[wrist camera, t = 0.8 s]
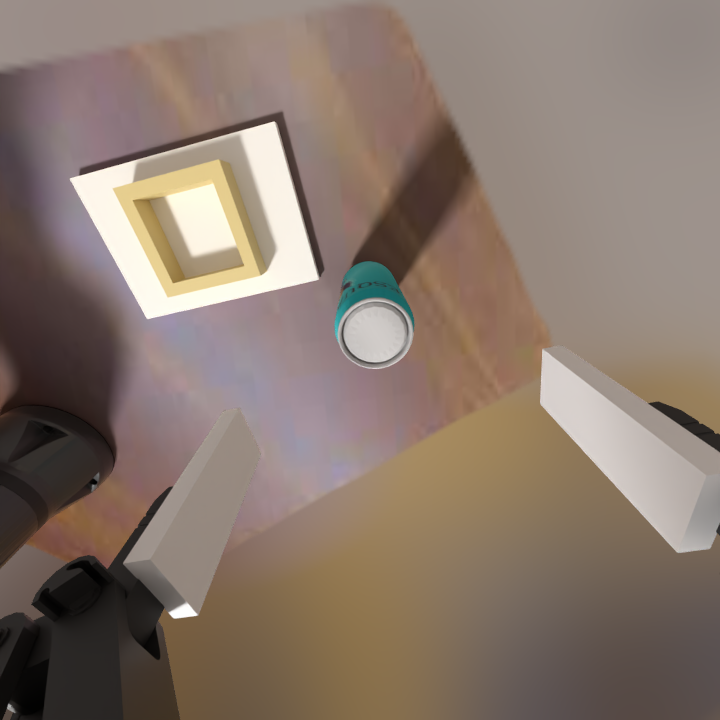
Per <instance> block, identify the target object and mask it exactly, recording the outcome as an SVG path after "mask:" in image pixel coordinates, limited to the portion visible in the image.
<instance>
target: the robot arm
mask: <svg viewBox="0 0 720 720" xmlns="http://www.w3.org/2000/svg"><path fill="white" fill-rule="evenodd" d="M540 404H541V405H542V406H543V407H544V408H545V410H546V411H547V412H548V413H549V414H550V415H551V416H552V417H553V418H554V419H555V421H556V422H557V423H558V424H559V425H560V426H561V427H562V428H563V429H564V430H565V431H566V432H567V433H568V435H569V436H571V438H572V439H573V440H574V441H575V442H576V443H577V444H578V445H579V447H580V448H581V449H582V450H583V451H584V452H585V453H586V454H587V455H588V456H589V457H590V458H591V460H592V461H593V462H594V463H595V464H596V465H597V466H598V467H599V468H600V469H601V470H602V471H603V473H604V474H605V475H606V476H607V477H608V478H609V479H610V480H611V481H612V482H613V483H614V485H615V486H616V487H617V488H618V489H619V490H620V491H621V492H622V493H623V494H624V495H625V496H626V498H627V499H628V500H629V501H630V502H631V503H632V504H633V505H634V506H635V507H636V508H637V509H638V511H639V512H640V513H641V514H642V515H643V516H644V517H645V518H646V519H647V520H648V521H649V522H650V524H651V525H652V526H653V527H654V528H655V529H656V530H657V531H658V532H659V533H660V534H661V536H662V537H663V538H664V539H665V540H666V541H667V542H668V543H669V544H670V545H671V546H672V547H673V549H674V550H675V551H676V552H677V553H681V552H689V551H695V550H704V549H710V548H711V546H712V543H713V541H714V539H715V537H716V534H717V533H718V534H719V535H720V435H719V434H715V433H714V431H713V430H711V429H710V428H708V427H707V426H705V425H703V424H699V422H698V421H697V420H696V419H694V418H692V417H691V416H689V415H688V414H686V413H685V412H683V411H681V410H679V409H677V408H674V407H671V406H669V405H666V404H663V403H661V402H653V403H646V402H645V401H643V400H642V399H641V398H639V397H637V396H636V395H635V394H633V393H632V392H630V391H629V390H627V389H626V388H624V387H623V386H621V385H620V384H618V383H617V382H616V381H614V380H613V379H611V378H610V377H608V376H607V375H605V374H604V373H602V372H601V371H599V370H598V369H596V368H595V367H594V366H592V365H591V364H589V363H587V362H586V361H585V360H583V359H582V358H580V357H579V356H577V355H576V354H574V353H573V352H571V351H570V350H568V349H567V348H566V347H564V346H563V345H560V346H555V347H550V348H545V349H543V351H542V374H541V397H540ZM260 456H261V452H260V449H259V447H258V445H257V443H256V441H255V439H254V437H253V435H252V433H251V431H250V428H249V426H248V424H247V422H246V420H245V418H244V416H243V414H242V412H241V410H240V408H236V409H230V410H225V411H223V412H222V414H221V415H220V417H219V418H218V420H217V421H216V423H215V425H214V426H213V428H212V429H211V431H210V432H209V434H208V435H207V437H206V438H205V440H204V441H203V443H202V444H201V446H200V447H199V449H198V450H197V452H196V453H195V455H194V456H193V458H192V459H191V461H190V462H189V464H188V465H187V467H186V468H185V470H184V471H183V473H182V475H181V476H180V478H179V479H178V481H177V482H176V484H175V485H174V486H173V487H169V488H167V489H166V490H165V491H164V492H163V493H162V494H161V495H160V496H159V497H158V498H157V499H156V500H155V501H154V503H153V504H152V506H151V507H150V509H149V510H148V511H147V513H146V516H145V517H143V519H142V520H141V522H140V523H139V524H138V528H136V529H135V530H134V532H133V533H132V535H131V536H130V537H129V539H128V540H127V542H126V543H125V545H124V546H123V548H122V549H121V550H120V552H119V553H118V555H117V556H116V558H115V559H114V561H113V562H112V564H111V565H110V566H109V568H108V569H106V568H105V567H104V566H103V565H102V564H101V563H100V562H99V561H98V560H97V559H96V557H95V556H90V555H87V556H83V557H79V558H77V559H75V560H73V561H71V562H69V563H67V564H66V565H65V566H63V567H62V568H61V569H59V570H58V571H56V572H55V573H54V574H53V575H52V576H51V577H50V578H49V579H48V580H47V581H46V582H45V583H44V584H43V585H42V587H41V588H40V590H39V591H38V592H37V593H36V595H35V597H34V599H33V602H32V604H31V605H33V606H34V607H35V608H37V609H38V610H39V611H40V612H42V613H43V614H44V615H45V616H43V617H40V618H38V619H36V620H34V621H33V620H32V619H31V618H29V617H28V616H27V615H25V614H24V613H13V614H11V615H8V616H6V617H4V618H2V619H0V720H2V719H3V716H4V714H5V712H6V709H9V710H10V711H12V712H13V714H12V717H11V719H10V720H180V716H179V711H178V706H177V701H176V695H175V690H174V685H173V680H172V675H171V669H170V664H169V658H168V653H167V648H166V643H165V637H164V632H163V628H162V626H161V624H160V623H159V622H158V620H159V618H160V616H161V613H162V611H163V609H164V608H165V609H166V610H167V611H168V612H169V614H170V615H171V616H172V617H173V618H181V617H189V616H197V615H198V614H199V612H200V609H201V606H202V604H203V602H204V599H205V597H206V594H207V591H208V589H209V586H210V584H211V581H212V579H213V576H214V573H215V571H216V568H217V566H218V563H219V561H220V558H221V556H222V553H223V551H224V548H225V546H226V543H227V540H228V538H229V535H230V533H231V530H232V528H233V525H234V523H235V520H236V517H237V515H238V512H239V510H240V507H241V505H242V502H243V500H244V497H245V494H246V492H247V489H248V487H249V484H250V482H251V479H252V477H253V474H254V472H255V469H256V466H257V464H258V461H259V459H260ZM112 469H113V455H112V452H111V450H110V448H109V446H108V444H107V443H106V441H105V440H104V439H103V437H102V436H101V435H100V434H99V433H98V432H97V431H96V430H95V429H93V428H92V427H91V426H90V425H88V424H87V423H85V422H84V421H82V420H81V419H79V418H77V417H75V416H73V415H71V414H69V413H66V412H64V411H61V410H58V409H54V408H50V407H45V406H33V405H32V406H21V407H17V408H14V409H11V410H9V411H8V412H6V413H4V414H2V415H1V416H0V569H1V568H2V567H3V566H4V565H5V564H6V563H7V562H8V561H9V560H10V559H11V558H12V556H13V555H14V554H15V553H16V552H17V551H18V550H19V549H20V548H21V547H22V546H23V545H24V544H25V543H26V542H27V541H28V540H29V539H30V538H31V537H32V536H33V535H34V534H35V533H36V532H37V531H38V530H39V529H40V528H41V527H42V526H43V525H44V524H45V523H46V522H47V521H48V520H49V519H50V518H52V517H53V516H55V515H56V514H58V513H60V512H61V511H63V510H65V509H66V508H68V507H69V506H71V505H73V504H74V503H76V502H78V501H79V500H81V499H82V498H84V497H86V496H87V495H89V494H91V493H92V492H93V491H95V490H96V489H97V488H98V487H99V486H100V485H101V484H102V483H103V482H104V481H105V480H106V478H107V477H108V476H109V475H110V473H111V471H112Z"/></svg>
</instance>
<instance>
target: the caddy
mask: <svg viewBox="0 0 720 720" xmlns="http://www.w3.org/2000/svg"><path fill="white" fill-rule="evenodd" d="M70 180H71V182H72V184H73V186H74V187H75V189H76V191H77V193H78V195H79V196H80V198H81V200H82V202H83V204H84V206H85V207H86V209H87V211H88V213H89V215H90V216H91V218H92V220H93V222H94V224H95V225H96V227H97V229H98V231H99V233H100V234H101V236H102V238H103V240H104V242H105V244H106V245H107V247H108V249H109V251H110V253H111V254H112V256H113V258H114V260H115V262H116V263H117V265H118V267H119V269H120V271H121V272H122V274H123V276H124V278H125V280H126V282H127V283H128V285H129V287H130V289H131V291H132V292H133V294H134V296H135V298H136V300H137V301H138V303H139V305H140V307H141V309H142V310H143V312H144V314H145V316H146V318H147V319H150V318H154V317H159V316H163V315H167V314H172V313H176V312H180V311H185V310H189V309H193V308H198V307H202V306H206V305H211V304H215V303H220V302H224V301H228V300H233V299H237V298H241V297H246V296H250V295H254V294H259V293H263V292H267V291H272V290H276V289H280V288H285V287H289V286H293V285H298V284H302V283H307V282H311V281H315V280H319V278H320V277H319V273H318V269H317V266H316V262H315V258H314V255H313V251H312V248H311V244H310V240H309V237H308V233H307V230H306V226H305V222H304V219H303V215H302V211H301V208H300V204H299V201H298V197H297V193H296V190H295V186H294V182H293V179H292V175H291V172H290V168H289V164H288V161H287V157H286V154H285V150H284V146H283V143H282V139H281V135H280V132H279V128H278V125H277V123H276V122H275V121H274V122H270V123H267V124H263V125H260V126H256V127H253V128H249V129H245V130H242V131H238V132H235V133H231V134H227V135H224V136H220V137H217V138H213V139H210V140H206V141H202V142H199V143H195V144H192V145H188V146H185V147H181V148H177V149H174V150H170V151H167V152H163V153H160V154H156V155H152V156H149V157H145V158H142V159H138V160H135V161H131V162H127V163H124V164H120V165H117V166H113V167H109V168H106V169H102V170H99V171H95V172H92V173H88V174H84V175H81V176H77V177H74V178H70Z"/></svg>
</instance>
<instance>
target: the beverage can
mask: <svg viewBox="0 0 720 720" xmlns="http://www.w3.org/2000/svg"><path fill="white" fill-rule="evenodd" d="M413 332H414V318H413V314H412V311H411V309H410V307H409V305H408V303H407V301H406V299H405V298H404V296H403V294H402V292H401V290H400V288H399V286H398V284H397V282H396V281H395V279H394V277H393V275H392V273H391V272H390V271H389V270H388V269H387V268H386V267H385V266H384V265H382V264H380V263H377V262H372V261H366V262H361V263H358V264H356V265H354V266H353V267H352V268H351V269H350V270H349V271H348V272H347V273H346V275H345V277H344V279H343V282H342V287H341V292H340V298H339V303H338V308H337V314H336V319H335V334H336V338H337V340H338V343H339V345H340V347H341V349H342V351H343V353H344V354H345V355H346V357H347V358H348V359H349V360H351V361H352V362H353V363H355V364H357V365H359V366H361V367H365V368H370V369H379V368H385V367H388V366H391V365H393V364H395V363H396V362H398V361H399V360H400V359H401V358H403V357H404V355H405V354H406V353H407V351H408V350H409V348H410V346H411V343H412V339H413Z"/></svg>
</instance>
